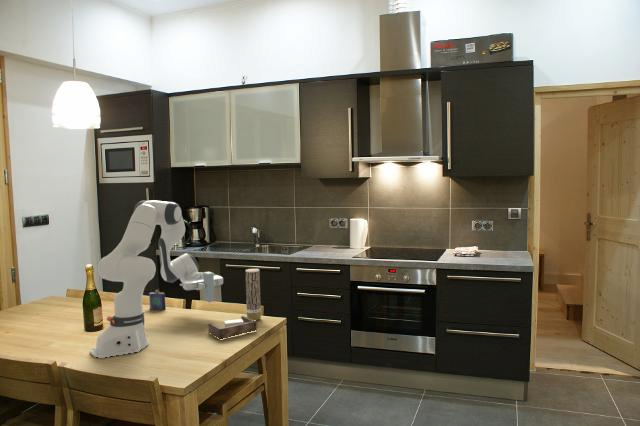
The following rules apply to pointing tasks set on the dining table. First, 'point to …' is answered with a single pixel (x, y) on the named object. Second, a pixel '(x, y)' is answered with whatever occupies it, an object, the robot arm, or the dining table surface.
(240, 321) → the offcut upper
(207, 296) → the blue-grey block
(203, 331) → the dining table surface
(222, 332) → the brown basket
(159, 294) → the flask
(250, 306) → the brown patterned cylinder
